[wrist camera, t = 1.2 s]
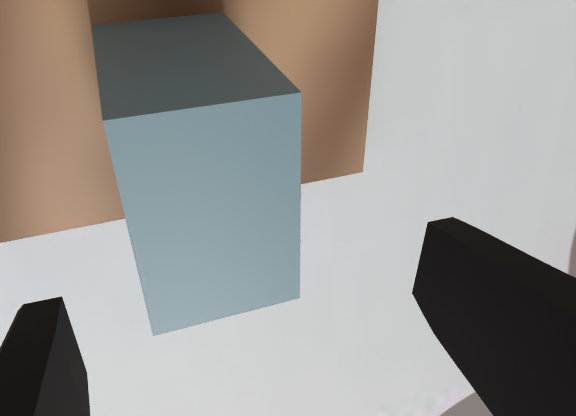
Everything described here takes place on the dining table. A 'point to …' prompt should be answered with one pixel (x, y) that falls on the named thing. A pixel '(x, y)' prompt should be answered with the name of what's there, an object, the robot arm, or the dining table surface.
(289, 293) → the carton
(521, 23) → the dining table surface
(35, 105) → the price rail shelf
